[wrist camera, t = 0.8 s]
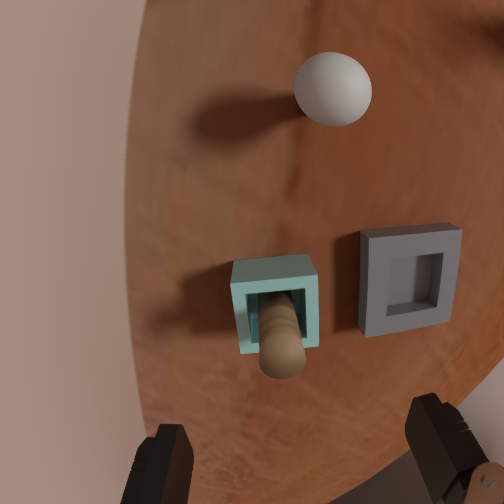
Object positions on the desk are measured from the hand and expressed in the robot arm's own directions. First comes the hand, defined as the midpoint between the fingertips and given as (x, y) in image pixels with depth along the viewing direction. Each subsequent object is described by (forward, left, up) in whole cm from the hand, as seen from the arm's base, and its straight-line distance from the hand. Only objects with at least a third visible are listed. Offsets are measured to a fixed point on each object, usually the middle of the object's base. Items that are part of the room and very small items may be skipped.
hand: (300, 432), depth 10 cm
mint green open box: (+7, 0, -26) cm, 27 cm away
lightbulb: (-13, +6, -26) cm, 30 cm away
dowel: (+7, 0, -25) cm, 26 cm away
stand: (+7, +16, -26) cm, 31 cm away
